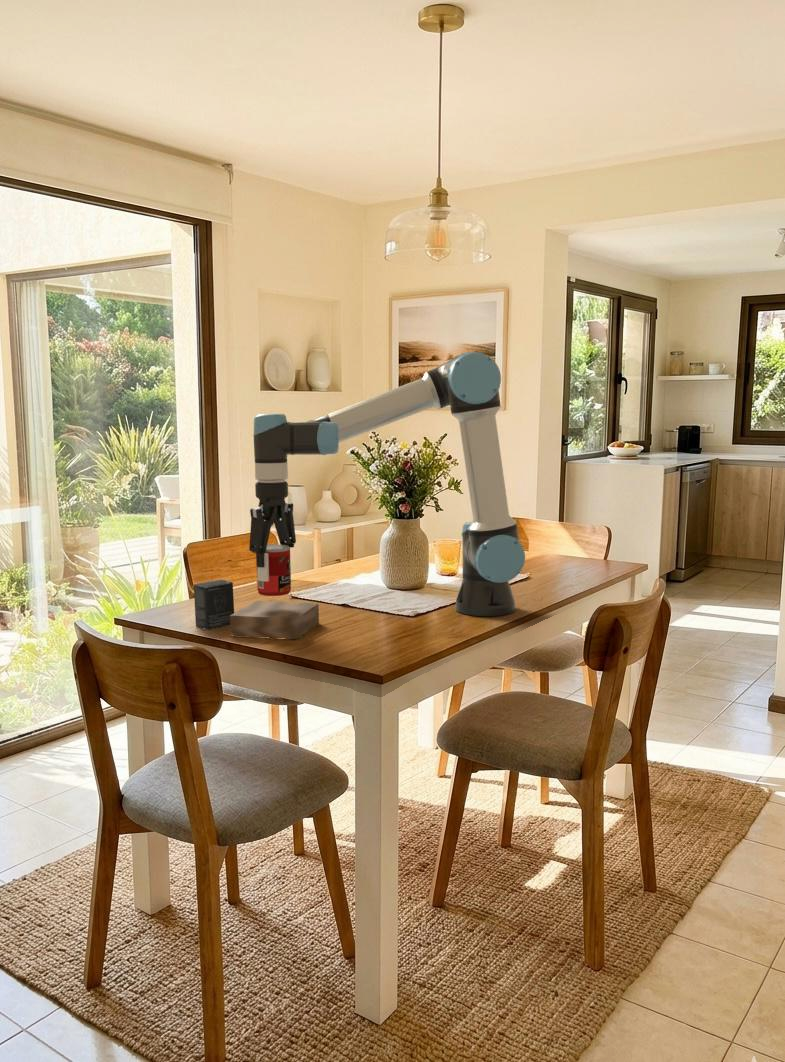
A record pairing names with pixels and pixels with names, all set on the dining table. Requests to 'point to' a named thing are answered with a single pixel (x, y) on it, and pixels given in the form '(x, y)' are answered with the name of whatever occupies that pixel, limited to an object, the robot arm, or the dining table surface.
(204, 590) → the box
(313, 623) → the brown wooden block
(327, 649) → the dining table surface
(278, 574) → the canned food
